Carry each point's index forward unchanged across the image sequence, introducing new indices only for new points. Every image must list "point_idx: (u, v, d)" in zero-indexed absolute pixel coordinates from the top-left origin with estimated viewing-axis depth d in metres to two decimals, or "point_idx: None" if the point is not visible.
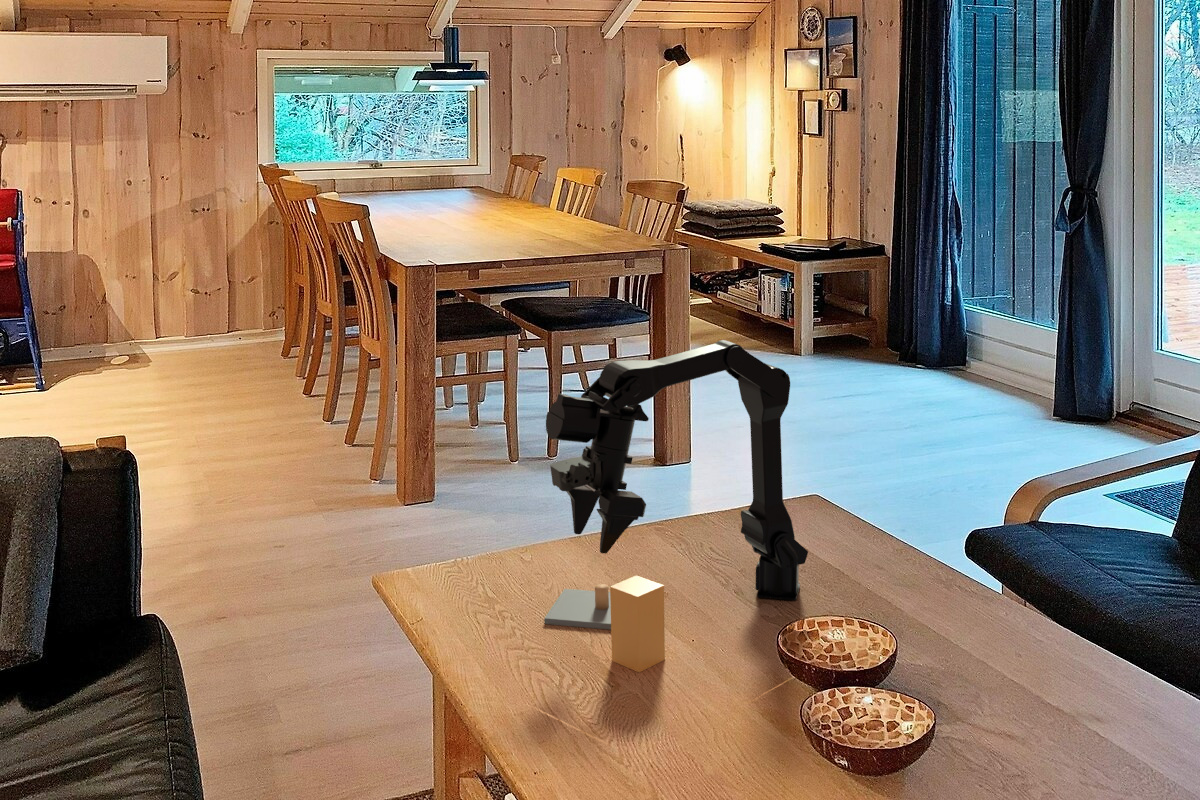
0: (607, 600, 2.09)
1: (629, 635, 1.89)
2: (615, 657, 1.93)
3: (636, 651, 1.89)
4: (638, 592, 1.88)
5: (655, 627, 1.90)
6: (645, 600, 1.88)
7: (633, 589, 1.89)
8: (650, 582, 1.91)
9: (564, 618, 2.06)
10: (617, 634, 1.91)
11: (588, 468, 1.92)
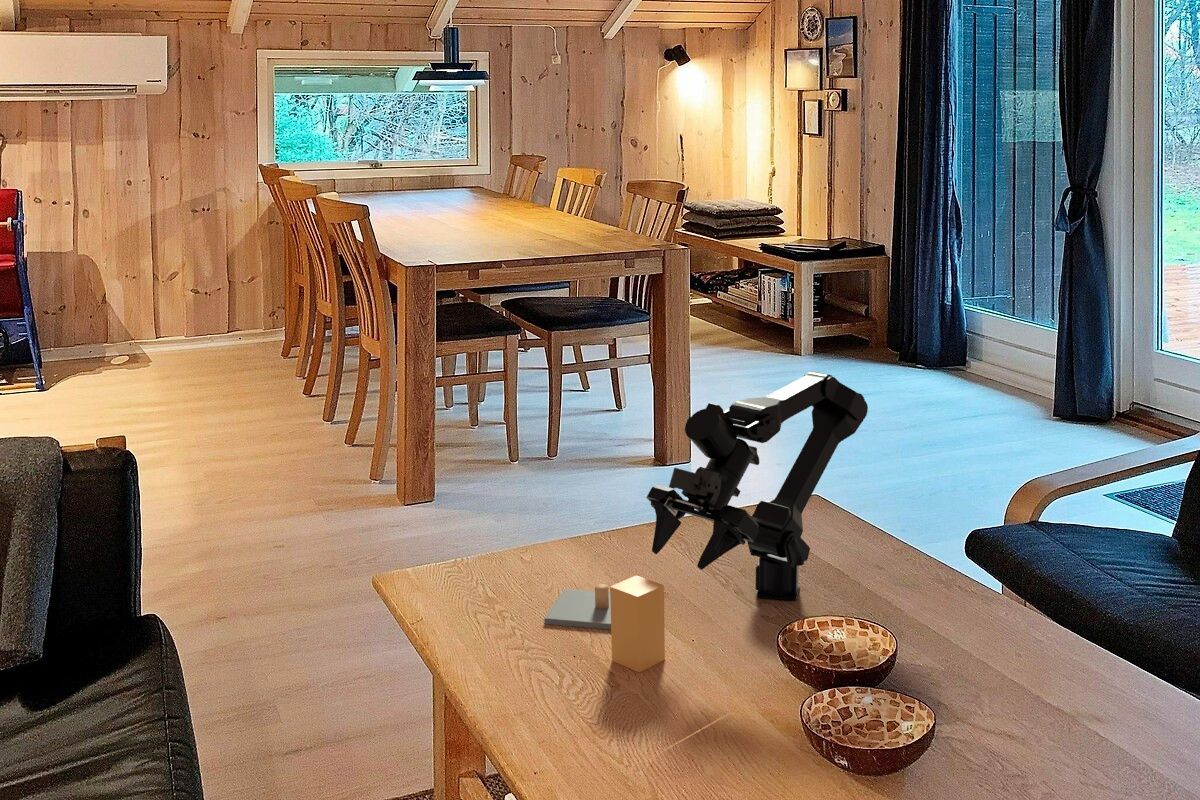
0: (607, 600, 2.09)
1: (629, 635, 1.89)
2: (615, 657, 1.93)
3: (636, 651, 1.89)
4: (638, 592, 1.88)
5: (655, 627, 1.90)
6: (645, 600, 1.88)
7: (633, 589, 1.89)
8: (650, 582, 1.91)
9: (564, 618, 2.06)
10: (617, 634, 1.91)
11: None
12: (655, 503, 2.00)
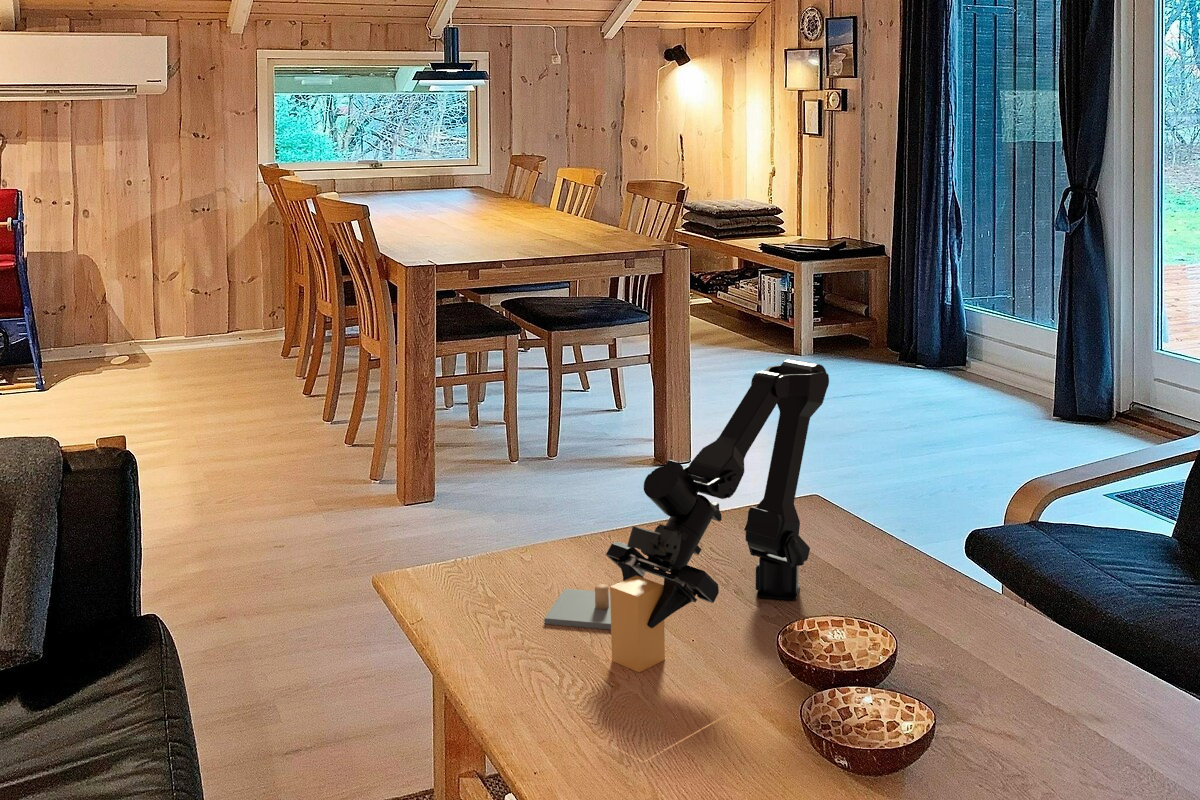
0: (607, 600, 2.09)
1: (629, 635, 1.89)
2: (615, 657, 1.93)
3: (636, 651, 1.89)
4: (638, 592, 1.88)
5: (655, 627, 1.90)
6: (645, 599, 1.88)
7: (633, 589, 1.89)
8: (650, 582, 1.91)
9: (564, 618, 2.06)
10: (617, 634, 1.91)
11: None
12: (622, 564, 1.95)
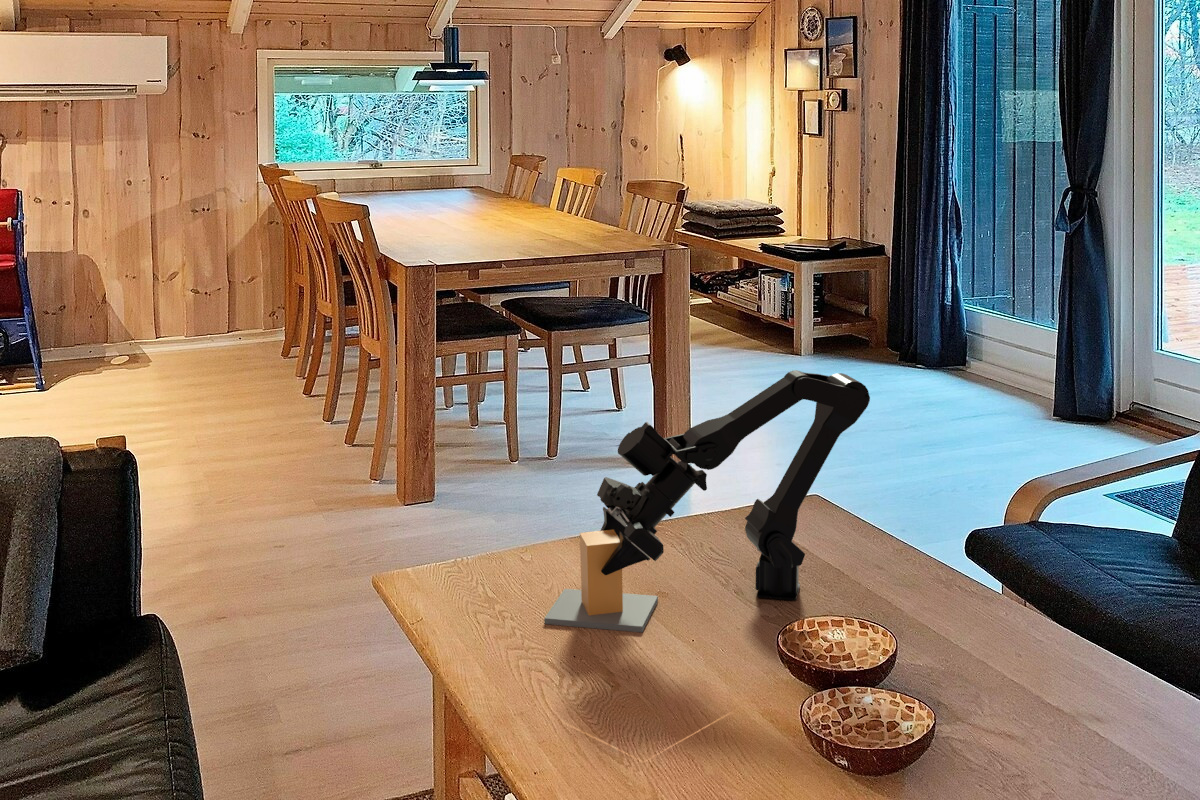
0: None
1: (585, 580, 2.07)
2: (582, 598, 2.11)
3: (587, 595, 2.06)
4: (592, 543, 2.05)
5: (610, 578, 2.06)
6: (597, 551, 2.04)
7: (592, 539, 2.06)
8: (615, 537, 2.07)
9: (564, 618, 2.06)
10: (582, 577, 2.10)
11: (634, 496, 2.03)
12: (604, 509, 2.12)
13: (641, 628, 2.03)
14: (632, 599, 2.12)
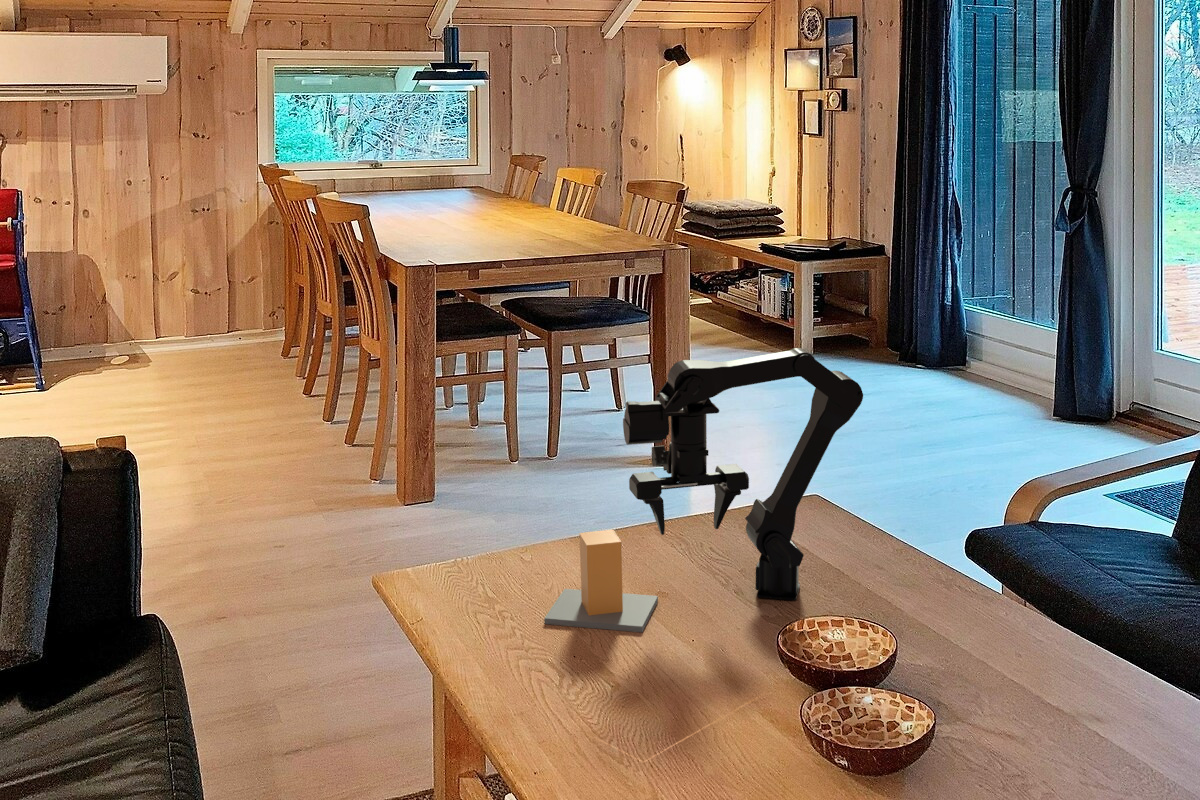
0: None
1: (585, 580, 2.07)
2: (582, 598, 2.11)
3: (587, 595, 2.06)
4: (592, 542, 2.05)
5: (610, 578, 2.06)
6: (597, 550, 2.04)
7: (592, 539, 2.06)
8: (614, 537, 2.07)
9: (564, 618, 2.06)
10: (582, 578, 2.10)
11: (662, 452, 2.12)
12: None
13: (641, 628, 2.03)
14: (632, 599, 2.12)
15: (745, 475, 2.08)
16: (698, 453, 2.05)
